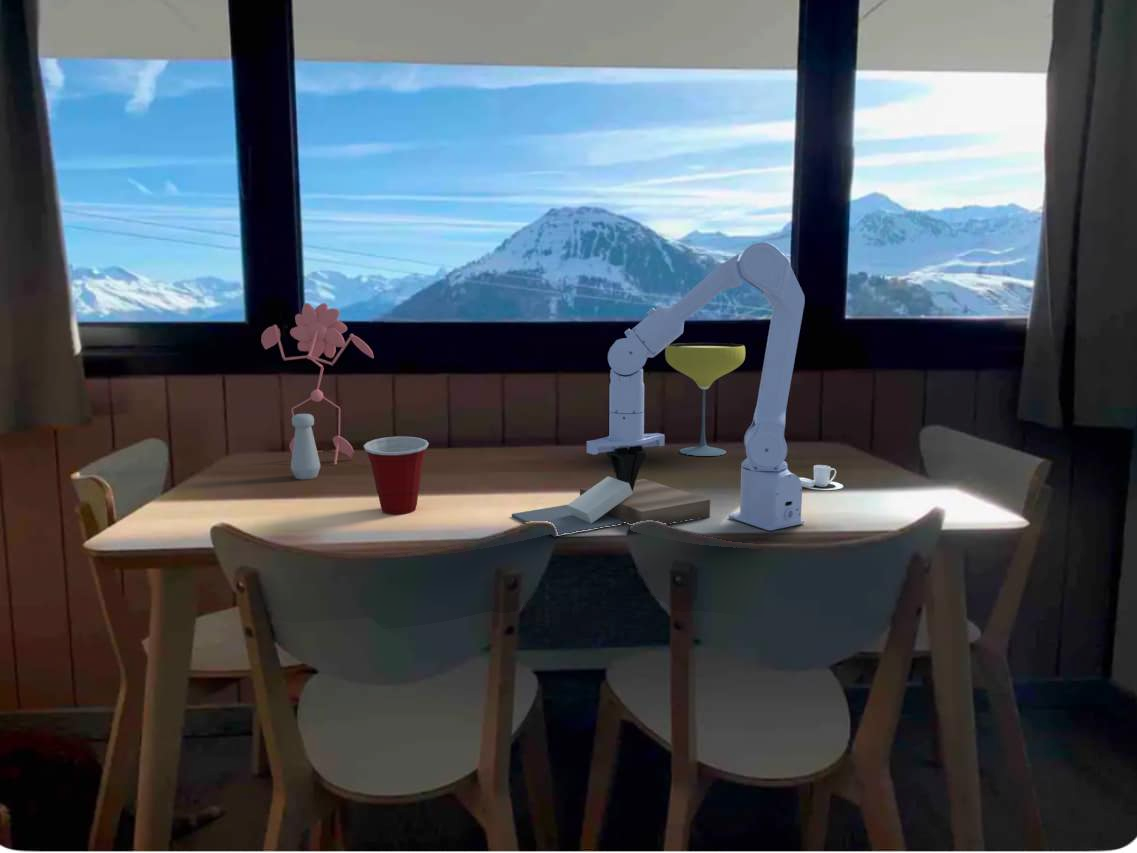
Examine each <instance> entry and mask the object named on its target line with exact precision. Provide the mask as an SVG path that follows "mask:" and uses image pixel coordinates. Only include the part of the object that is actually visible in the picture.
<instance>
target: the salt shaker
mask: <svg viewBox="0 0 1137 853" xmlns="http://www.w3.org/2000/svg"><path fill="white" fill-rule="evenodd" d="M291 424H292V427H294V428H295V427H296V428H295V429H294V437H293V438H294V445H293V453H292V452H291V460H290V470H291V472H292V474H293V476H294V478H295V479H296V480H301V481H303V480H312V479H315V478H317V477H318V475H319V472H320V469H321V462H320V457H319V452H317V451H318V449H317V445H316V444H317V443H316V441H315V440H316V439H315V437H314V431H313V428H312V426H314V425H315V418H314V415H312V414H311V413H298V414H294V416H292V417H291Z"/></svg>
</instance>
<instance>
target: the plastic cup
mask: <svg viewBox="0 0 1137 853" xmlns="http://www.w3.org/2000/svg"><path fill="white" fill-rule="evenodd" d="M429 443H430V442H428V440H426V439H423V438H421V437H414V436H390V437H389V436H387V437H382V438H375V439H373V440H370V441H366V443H365V444H363V448H364V450H365V452H366V453H367V456H368V459H369V463H370V465H371V471H372V475H373V479H374V483H375V484H374V485H375V489H376V493H377V494H378V499H379V500H378V501H379V504H380V505H379V506H380V509H381V511H382V513H384V514H388V515H405V514H411V513H412V512H414V511H416V509H417V506H418V498H419V491H420V486H421V480H422V470H423V464H424V460H425V455H426V451H427V448H428V446H429Z"/></svg>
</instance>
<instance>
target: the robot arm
mask: <svg viewBox="0 0 1137 853" xmlns="http://www.w3.org/2000/svg"><path fill="white" fill-rule="evenodd" d="M739 256H740V258H739ZM738 259H739V260H738ZM742 279H743V281H745V282H746V283H748V284H749V285H750V286H752V287H753V288H755V289H757V290H758V291H759V292H761V295H762V296H763V297H764V299H765V300H767V301H768V303H769V304H770V306H771V307H772V310H771V311H772V312H771V316H770V324H769V330H768V334H767V335H768V336H767V342H766V347H765V353H764V359H763V366H762V371H761V376H760V377H761V378H760V383H759V389H758V394H757V395H758V396H757V401H756V407H755V409H754V413H753V419H752V423H751V425H750V426H749V427H748V428H747V430H746V432H745V434H744V438H743V443H744V447H745V455H746V458H745V459H743V461H741V463H740V464H741V466H740V468H741V469H740V499H739V500H740V501H739V502H740V503H739V504H740V505H739V511H738V512H735V513H729V514H728V518H730V519H733V520H735V521H739V522H742V523H745V524H748V525H751V526H755V527H756V528H760V529H763V530H766V531H776V530H779V529H784V528H789V527H793V526H797V525H802V524H805V520H803V519H802V504H803V503H802V502H803V501H802V500H803V499H802V498H803V486H802V484H801V481H800V479H799V478H800V477H799V476H798V475H797V474H795V473H792V472H791V471H790V470H789V469H788V462H786V461H785V460H786V457H787V455H788V445H787V442H786V439H785V428H786V416H787V415H786V414H787V406H788V400H789V393H790V390H791V384H792V383H791V382H792V378H793V371H794V367H795V366H794V365H795V358H796V354H797V349H798V343H799V337H800V332H801V331H800V330H801V325H802V320H803V313H804V309H805V304H806V303H805V299H806V298H805V294H804V292H803V289H802V286H800V283H799V281H798V278H797V277H796V275H795V273H794V270H793V268H792V265H791V263H790V260H789V258H788V257H787V256H785V254H784V253H783V252H782V251H780V249H779V248H777V247H776V246H775V245H774V244H773V243H769V242H764V241H760V242H755V243H752V244H751V245H748V247H746V249H744V250H743V253H742V254H741V255H740V253H737V254H736V255H735V256H733V257H731V258H729V259H728V260H726V261H724V262H723V263H721V264H720V265H718V266H716V267H715V268H714V269H713V270H712V271H711V272H710V273H709V274H708V275H706V276H705V277H704V278H703V279H702V280H700V282H699V283H697V284H696V285H695V286H694V287H693V288H692V289H691V290H690V291H688V292H687V293H685V294H684V296H683V297H681V298H680V299H679V300H678V301H677V302H676V303H674V305H672V306H669V305H659V306H658V307H657V308H656V309H655V308H654V307H651V308H650V309H649V310H647V311H646V314H647V316H646V317H645V318H643V320H641V321H640V322H639V323H638V324H636V325H635V326H634V327H632V329H630V328H628V329H626V330H625V331H624V334H625V336H626V337H625V338H619V339H616V340H615V342H614V343H613V344H612V346H610V348H609V350H608V352H607V362H608V364H609V367H610V368H611V369H610V373H609V379H610V383H609V387H608V388H609V393H608V394H609V396H608V397H609V403H608V404H609V407H608V408H609V419H608V420H609V423H608V424H609V425H608V426H609V432H608V433H609V434H608V436H605V437H602V438H597V439H593V440H586V453H587V454H589V455H598V454H601V453H605V455H606V457H607V459H608V461H609V462H610V464H611V466H612V469H613V471H614V475H615V477H616V478H615V479H618V480H621V481H624V482H627V483H629V485H630V487H631V490H632V492H633V489H634V485H635V481H636V480H637V477H638V474H639V472H640V469H641V468H642V465H643V463H644V461H646V458H647V456H648V452H647V450H646V449H643V448H647V447H657V446H658V447H663V446H664V447H665V439H666V438H665V436H666V435H665V434H664V433H658V432H655V433H645V428H644V427H645V383H644V369H643V367H644V366H645V365H646V362H647V360H648V358H654V357H656V356H657V355H658V354H660V353H661V352H662V351H663V350H665V349H666V347H667V346H668V345H669V344H673V342H674V341H675V340H677V339H678V338H679V337H680V336H681V335H683V333H684V328H685V326H684V325H685V321H687V319H689V318H690V317H691V316H693V315H694V314H695V313H696V312H698V311H700V309H702V308H703V307H704V306H705V305H707V304H708V303H710V301H711V300H714V299H715V298H716V297H717V296H718V295H719V294H720V293H722V292H723V291H726V290H730V289H734V288H737V287H742V286H743V285H744V284H743V282H742Z"/></svg>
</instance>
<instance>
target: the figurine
mask: <svg viewBox="0 0 1137 853" xmlns="http://www.w3.org/2000/svg"><path fill="white" fill-rule="evenodd" d="M294 316H295V317H294V319H295V323H296V326H295V327H292V328H291V329H290V330H289V331H290V332H289V334H290V336H291V337H292V338H293V339H295V340H297V341H298V343H297V349H298V350H299V352H308V354H307V355H300V356H289V357H286V356H285V353H284V348H283V345H282V342H281V337H282V336H281V330H280V328H279V327H278V325H277V324H273V325H272V326H269V327H267V328H266V329H265V330H264V331H263V332H262V334H261V337H260V338H261V339H260V342H261V344H262V346H263V349H265V350H267V349H269V348H271V347H273V346H275V345H276V344H277V343H278V347H279V351H280V354H281V357H282V359H283V361H292V360H300V359H307V360H311V361H312V362H313V363H315V364H316V365H317V366H318V367H320V371H319V376H318V382H317V387H316V389H314V390H312V392H311V393H310V397H309V398H307V399H306V400H304V401H302V402H300V403H299V404H297V405H294V406H293V407H291V410H290V411H291V416H292V417H293V416H294V415H295V413H294V410H295V409H296V408H298V407H299V406H302V405H304V404H305V403H307V402H309V401H310V400H312V401H313V402H315V403H316V402H318V403H319V402H321V401H322V400H323V399H324V400H325V401H327V402H328V403H329V404H332V406H334V407H336V408H337V409H338V425H337V426H338V427H337V428H338V432H337V434H338V435H334V436H333V438H332V442H333V445H334V447H335V449H334V450H333V452H335V453H334V461H333V465H338V464H337V463H338V456H339V455H338V454H339V452H340V453H342V454H343V455H345V456H346V457H348V458H350V459H354V455H355V454H354V453H355V450H354V449H353V446H352V445H351V443H349V441H348V440H346V438H344V437H343V436H341V407H340V406H338V405H337V404H335V403H334V402H333V401H332V400H329V399H328V398H327V397H325V396H324V392H323V391H322V390H320V385H321V382H322V376H323V373H324V369H325V368H324V365H323V364H328V365H330V366H334V364H335V363H336V362H337V361H338V359H339V357H340V356H341V355H342V353H343V352H344V351H345V349H346V347H347V346H348V345H349V343H350V341H352V343H353V344H354V345H355V346H356V348H358V349H359V350H360V351H361V352H362V353H363V354H365V355H367V356H368V357H369V358H372V359H374V358H375V356H374V353H373V350H372V349H371V348H370V346H369V345H368V344H367V343H366V342H365V341H364V340H363V339H361V338H360V337H358V336H357V335H354V333H350V334H349V337H348V338H347V340H346V341H345V339H344V337H343V335H342V334H344V333H346V332H347V331H348V327H347V325H346V324H345V323H343V322H342V321H340V320H338V318H339V317H340V310H339V309H337V308H331V307H330V308H329V307H328V304H327V303H325V302H324V303H321V304H319V305H317V306H316V307H315V308H314V307H313V306H312V304H310V303H308V302H306V303H304V304H303V306H302V309H301V313H297V314H296V315H294ZM336 348H341V349H340V350H339V351H338V353H337V354H336V352H337V349H336ZM323 353H324V356H325V357H326V358H329V359H333V360H332V361H328V360H325V359H323V358H320V356H321V355H323ZM335 355H336V356H335ZM320 362H321V363H323V364H321V363H320ZM294 428H296V427H294ZM293 445H294V437H293V438H292V440H291V441H290V442H289V450H290V452H291V454H292V453H293ZM319 452H322V450H317V453H319ZM363 464H364V462H363V463H359V465H360V466H361V465H363Z"/></svg>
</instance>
